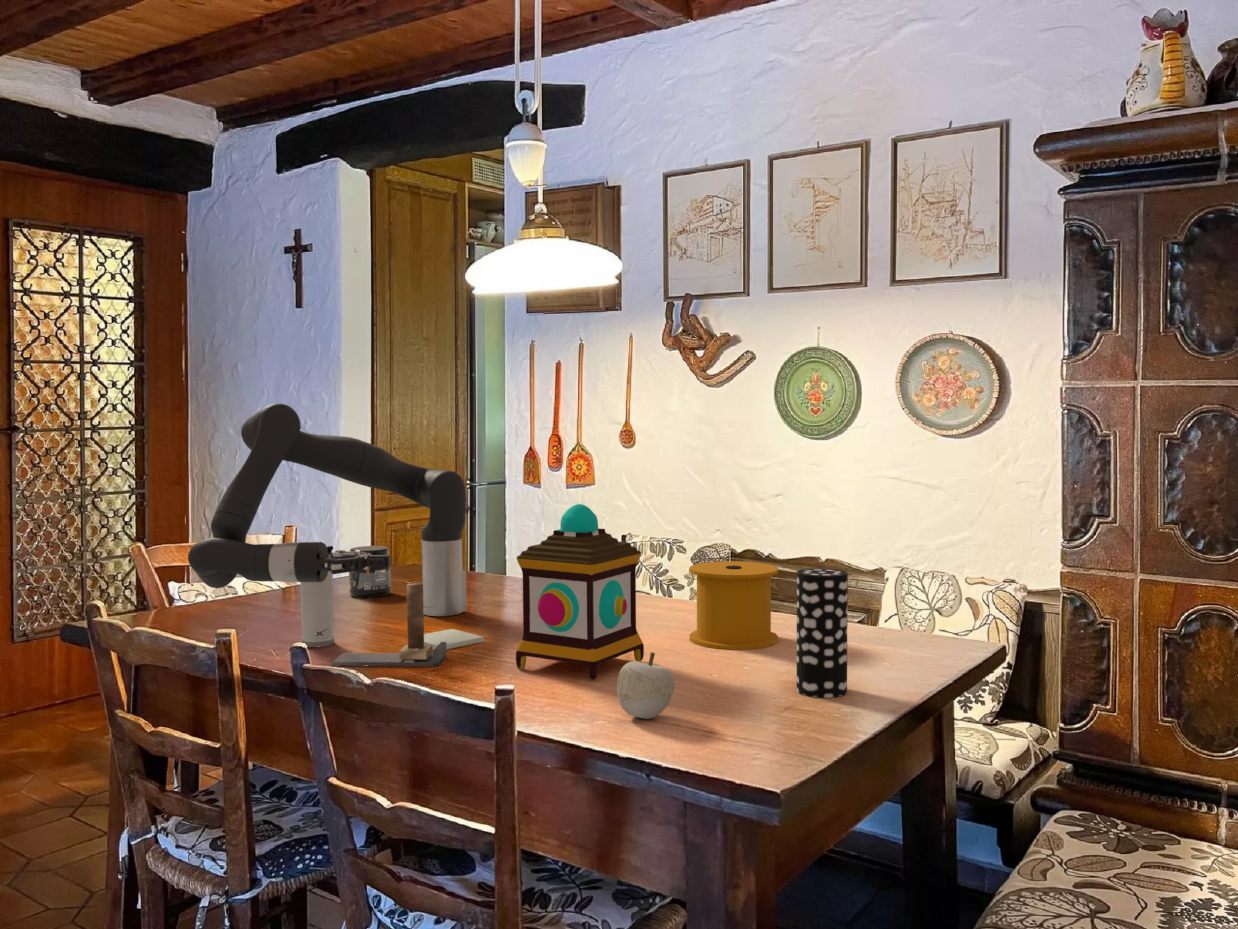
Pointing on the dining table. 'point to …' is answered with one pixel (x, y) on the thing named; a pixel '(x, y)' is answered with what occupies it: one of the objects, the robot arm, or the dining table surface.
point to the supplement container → (370, 576)
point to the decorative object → (644, 688)
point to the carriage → (415, 625)
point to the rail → (392, 659)
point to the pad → (451, 638)
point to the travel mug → (318, 611)
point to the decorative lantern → (579, 595)
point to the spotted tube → (822, 632)
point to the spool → (733, 605)
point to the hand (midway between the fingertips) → (389, 561)
